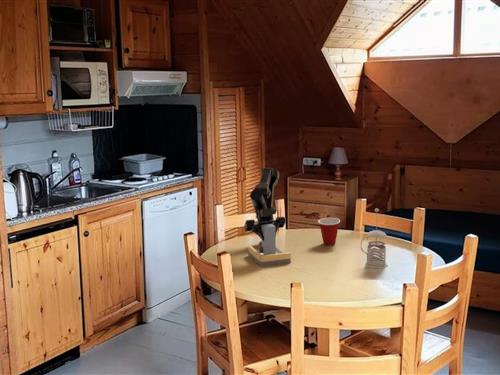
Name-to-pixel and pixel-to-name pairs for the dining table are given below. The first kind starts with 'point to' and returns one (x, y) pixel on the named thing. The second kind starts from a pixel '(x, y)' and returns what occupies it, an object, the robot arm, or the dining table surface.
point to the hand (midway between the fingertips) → (269, 239)
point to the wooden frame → (269, 257)
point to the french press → (375, 249)
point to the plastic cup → (329, 230)
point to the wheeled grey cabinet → (268, 240)
